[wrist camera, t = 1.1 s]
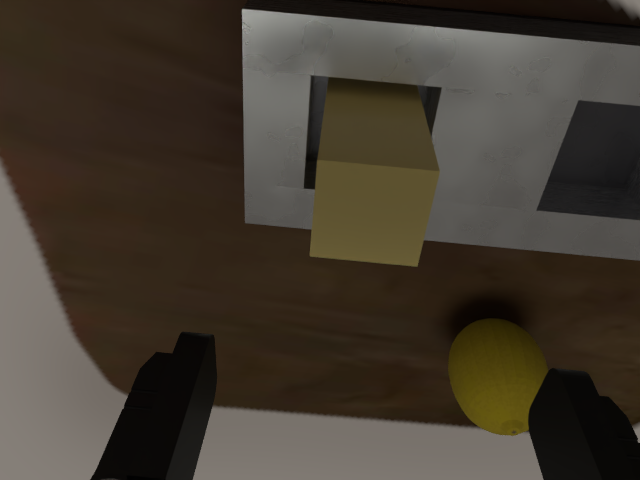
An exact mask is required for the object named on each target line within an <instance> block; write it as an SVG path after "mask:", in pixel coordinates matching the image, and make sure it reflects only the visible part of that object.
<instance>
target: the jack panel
mask: <svg viewBox="0 0 640 480" xmlns="http://www.w3.org/2000/svg"><path fill="white" fill-rule="evenodd" d="M242 42H243V113H244V184H245V223H250V224H261V225H271V226H282V227H292V228H303V229H312V221H313V208H314V195H315V183H316V170H317V158H318V151H319V144H320V137H321V129H322V122H323V115H324V107H325V100H326V93H327V85H328V78H329V77H337V78H348V79H358V80H369V81H380V82H390V83H401V84H412V85H417V86H418V90H419V94H420V97H421V101H422V105H423V109H424V112H425V116H426V120H427V124H428V128H429V131H430V135H431V139H432V143H433V146H434V150H435V154H436V158H437V162H438V165H439V169H440V174H439V178H438V182H437V186H436V190H435V195H434V199H433V203H432V207H431V211H430V216H429V220H428V224H427V228H426V232H425V236H424V240H429V241H440V242H450V243H461V244H471V245H482V246H492V247H503V248H513V249H524V250H535V251H545V252H556V253H566V254H577V255H587V256H598V257H608V258H619V259H629V260H640V26H631V25H621V24H610V23H599V22H588V21H578V20H567V19H556V18H545V17H535V16H524V15H513V14H502V13H492V12H481V11H470V10H460V9H449V8H438V7H427V6H417V5H406V4H395V3H384V2H374V1H363V0H249V1H248V2H247V3H246V4H245V6H244V7H243V8H242Z"/></svg>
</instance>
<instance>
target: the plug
mask: <svg viewBox="0 0 640 480" xmlns="http://www.w3.org/2000/svg"><path fill="white" fill-rule="evenodd" d="M439 174H440V169H439V165H438V162H437V158H436V154H435V150H434V146H433V143H432V139H431V135H430V131H429V128H428V124H427V120H426V116H425V112H424V109H423V105H422V101H421V97H420V94H419V90H418V86H417V85H412V84H401V83H390V82H380V81H369V80H358V79H348V78H337V77H329V78H328V85H327V93H326V100H325V107H324V115H323V122H322V129H321V137H320V144H319V151H318V158H317V170H316V183H315V195H314V208H313V221H312V233H311V246H310V256H311V257H321V258H332V259H342V260H353V261H363V262H374V263H384V264H395V265H405V266H416V267H417V266H418V262H419V257H420V253H421V249H422V245H423V241H424V236H425V232H426V228H427V224H428V220H429V216H430V211H431V207H432V203H433V199H434V195H435V190H436V186H437V182H438V178H439Z"/></svg>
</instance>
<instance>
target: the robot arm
mask: <svg viewBox="0 0 640 480" xmlns="http://www.w3.org/2000/svg"><path fill="white" fill-rule="evenodd" d="M216 384H217V369H216V354H215V339H214V335H213V334H202V333H192V332H182V333H181V334H180V336H179V338H178V340H177V343H176V346H175V348H174V351H173V354H172V353H161V352H156V353H155V354H154V355H153V356H152V357H151V358H150V359H149V360H148V361H147V362H146V363H145V364H144V365H143V366H142V367H141V368H140V370H139V372H138V375H137V377H136V379H135V381H134V384H133V386H132V388H131V389H132V390H131V392H130V393H129V395H128V398H127V400H126V402H125V405H124V409H122V412H121V414H120V416H119V418H118V421H117V423H116V425H115V428H114V430H113V432H112V434H111V437H110V439H109V441H108V444H107V446H106V448H105V451H104V453H103V455H102V458H101V460H100V462H99V465H98V467H97V469H96V471H95V473H94V475H93V476H92V478H91V479H90V480H193V476H194V472H195V469H196V465H197V461H198V458H199V454H200V450H201V447H202V443H203V439H204V435H205V431H206V428H207V424H208V420H209V417H210V413H211V409H212V406H213V402H214V398H215V392H216ZM528 427H529V433H530V436H531V439H532V443H533V446H534V449H535V453H536V456H537V459H538V463H539V466H540V469H541V472H542V475H543V479H544V480H640V443H638V441H637V440H638V438H637V436H636V434H635V432H634V430H633V428H632V426H631V424H630V422H629V420H628V418H627V416H626V415H625V414H624V413H623V412H622V411H621V410H620V408H619V407H618V406H617V405H616V404H615V403H614V402H613V401H612V400H611V399H610V398H609V397H606V396H599V394H598V392H597V390H596V388H595V386H594V383H593V381H592V379H591V377H590V376H589V374H588V373H586V372H585V371H576V370H565V369H555V368H552V369H550V370H549V371H548V373H547V374H546V376H545V378H544V380H543V382H542V384H541V386H540V388H539V390H538V392H537V394H536V396H535V398H534V400H533V402H532V404H531V406H530V409H529V414H528Z"/></svg>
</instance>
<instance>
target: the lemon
mask: <svg viewBox="0 0 640 480" xmlns="http://www.w3.org/2000/svg"><path fill="white" fill-rule="evenodd" d="M448 371H449V377H450V382H451V386H452V389H453V392H454V395H455V397H456V399H457V401H458V403H459V405H460V407H461V408H462V410H463V411H464V413H465V414H466V415H467V417H468V418H469V419H470V420H471V421H472V422H474V423H475V424H476V425H477V426H479V427H481V428H482V429H484V430H487V431H489V432H491V433H495V434H499V435H511V436H513V435H517V434H520V433H522V432H525V431H527V430H529V427H528V414H529V409H530V406H531V404H532V402H533V400H534V398H535V396H536V394H537V392H538V390H539V388H540V386H541V384H542V382H543V380H544V378H545V376H546V374H547V373H548V368H547V364H546V361H545V358H544V355H543V353H542V351H541V349H540V348H539V346H538V345H537V343H536V342H535V341H534V339H533V338H532V337H531V336H530V335H529V333H527V332H526V331H525V330H524V329H522V328H521V327H519V326H518V325H516V324H514V323H512V322H509V321H507V320H504V319H497V318H486V319H482V320H478V321H475V322H473V323H471V324H469V325H468V326H466V327H465V328H464V329H463V330H462V331H461V332H460V333H459V334H458V335H457V336H456V338H455V340H454V342H453V344H452V346H451V349H450V354H449V361H448Z"/></svg>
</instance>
